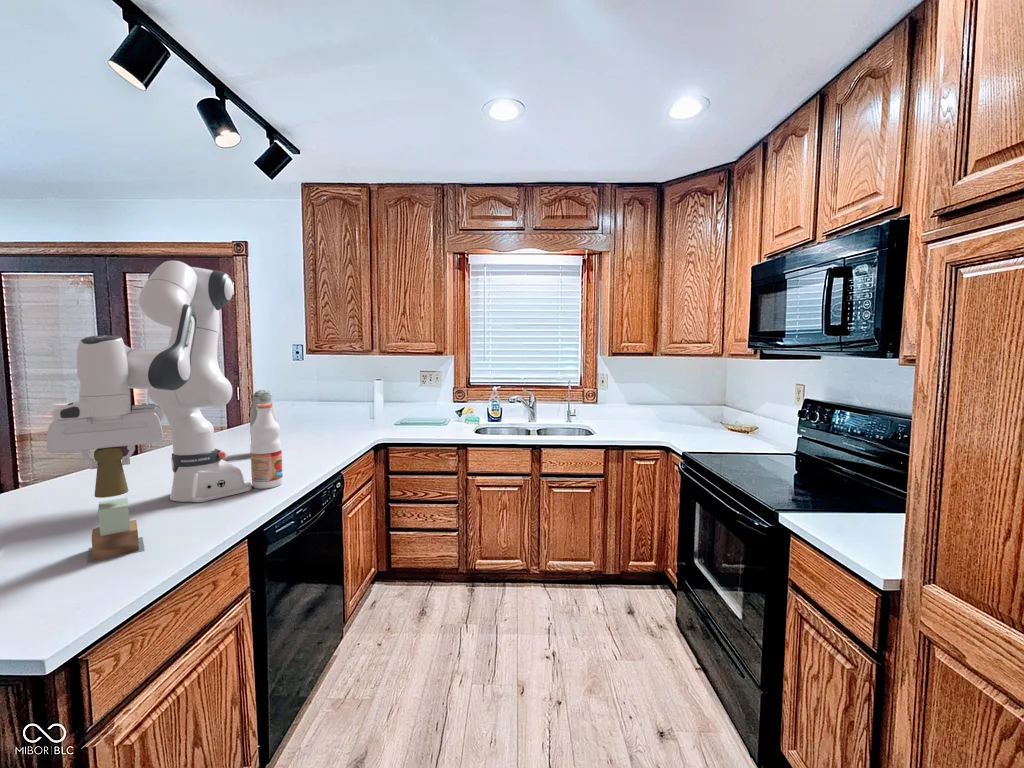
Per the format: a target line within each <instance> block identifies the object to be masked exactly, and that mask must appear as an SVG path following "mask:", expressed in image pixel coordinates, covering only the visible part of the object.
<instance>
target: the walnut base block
mask: <svg viewBox="0 0 1024 768" xmlns="http://www.w3.org/2000/svg"><path fill="white" fill-rule="evenodd" d="M129 523H130V531H125V532H120V533H115V534H110V535H105V536H100V527H99V526H95V527H92V532H91V548H92V550H93V561H94V560H99V559H103V558H108V557H112V556H117V555H121V554H126V553H130V552H135V551H139V543H138V538H139V531H138V522H137V519H133V520H129Z"/></svg>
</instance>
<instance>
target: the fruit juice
mask: <svg viewBox="0 0 1024 768" xmlns="http://www.w3.org/2000/svg"><path fill="white" fill-rule="evenodd" d="M256 410H257V417H256V420H255V422H254V423H253V425H252V426H251V428H250V427H249V430H250V431H249V433H250V434H249V435H250V438H251V437H252V442H251V441H250V451H249V452H250V469H251V485H252V488H254V489H262V490H264V489H272V488H276V487H279V486H281V485H282V484H283V478H284V477H283V460H282V459H283V455H282V441H281V439H280V433H281V426H280V424H279V423H278V421H277V422H276V421H275V420H274V418H273V415H272V411H271V410H272V404H269V403H265V404H257V405H256Z"/></svg>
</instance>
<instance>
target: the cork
mask: <svg viewBox="0 0 1024 768" xmlns="http://www.w3.org/2000/svg"><path fill="white" fill-rule="evenodd" d="M123 456H124V449H123V448H122V446H119V447H109V448H100V449H94V453H93V458H94V460H96V461H97V462H98V468H96V477H95V486H94V487H95V488H94V498H112V497H117V496H121V495H124V494H128V492H129V488H128V482H127V478H126V475H125V471H124V467H123V466H124V465H122V457H123Z"/></svg>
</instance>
